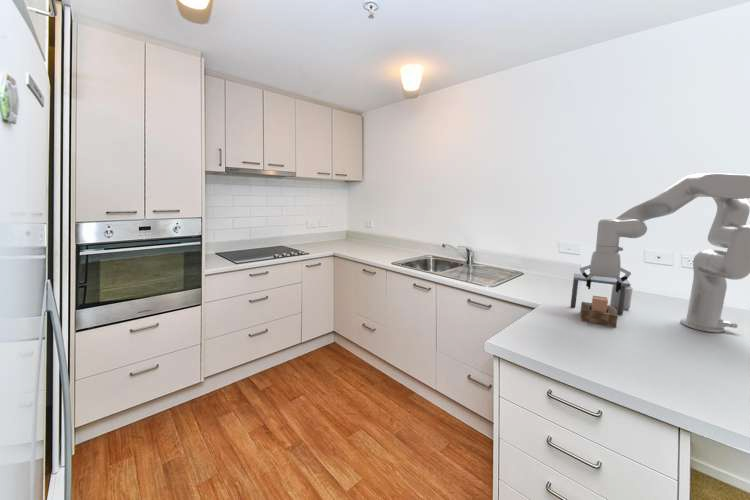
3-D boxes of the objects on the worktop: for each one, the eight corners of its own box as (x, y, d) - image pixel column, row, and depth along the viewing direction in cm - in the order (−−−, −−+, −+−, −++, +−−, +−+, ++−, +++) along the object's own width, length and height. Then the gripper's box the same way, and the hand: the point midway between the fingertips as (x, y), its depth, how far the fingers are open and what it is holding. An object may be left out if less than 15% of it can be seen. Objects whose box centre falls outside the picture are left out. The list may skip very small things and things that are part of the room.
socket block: (612, 317, 141) (614, 306, 141) (616, 327, 130) (617, 315, 130) (580, 312, 148) (581, 301, 147) (580, 321, 137) (582, 310, 136)
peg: (604, 319, 139) (606, 297, 137) (604, 323, 134) (607, 300, 133) (590, 317, 141) (592, 295, 139) (590, 321, 137) (593, 298, 135)
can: (629, 311, 148) (633, 286, 146) (609, 308, 153) (612, 283, 151) (629, 307, 154) (632, 283, 152) (610, 304, 159) (613, 280, 157)
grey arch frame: (622, 314, 145) (627, 279, 142) (624, 320, 138) (630, 283, 135) (570, 306, 155) (574, 273, 153) (570, 311, 148) (574, 277, 145)
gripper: (632, 249, 131) (627, 290, 134) (581, 246, 140) (578, 285, 143) (635, 252, 125) (630, 295, 128) (582, 249, 134) (578, 289, 137)
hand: (602, 289), depth 135 cm, fingers open, 9 cm apart
